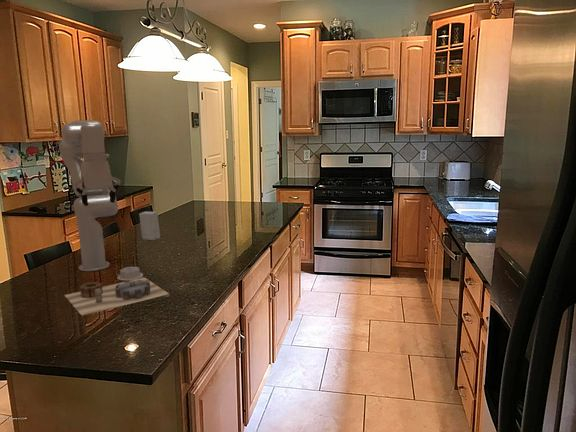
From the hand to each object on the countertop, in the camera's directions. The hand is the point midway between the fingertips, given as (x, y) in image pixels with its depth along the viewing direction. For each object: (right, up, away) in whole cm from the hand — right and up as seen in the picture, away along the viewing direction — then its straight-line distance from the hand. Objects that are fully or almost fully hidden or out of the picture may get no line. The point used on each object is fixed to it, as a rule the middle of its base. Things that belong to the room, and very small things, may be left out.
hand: (99, 203), depth 174 cm
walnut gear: (0, -33, -5) cm, 33 cm away
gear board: (+9, -34, -6) cm, 36 cm away
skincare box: (-4, -17, +80) cm, 82 cm away
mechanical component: (+7, -30, +14) cm, 34 cm away
